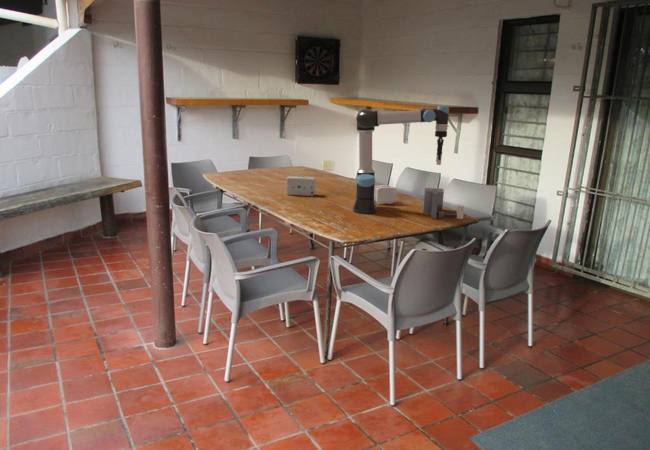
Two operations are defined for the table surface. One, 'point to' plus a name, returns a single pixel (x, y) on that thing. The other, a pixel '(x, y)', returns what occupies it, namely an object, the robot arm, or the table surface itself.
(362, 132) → the robot arm
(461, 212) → the plug
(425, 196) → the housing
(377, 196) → the cable organizer
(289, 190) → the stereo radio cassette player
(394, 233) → the table surface
